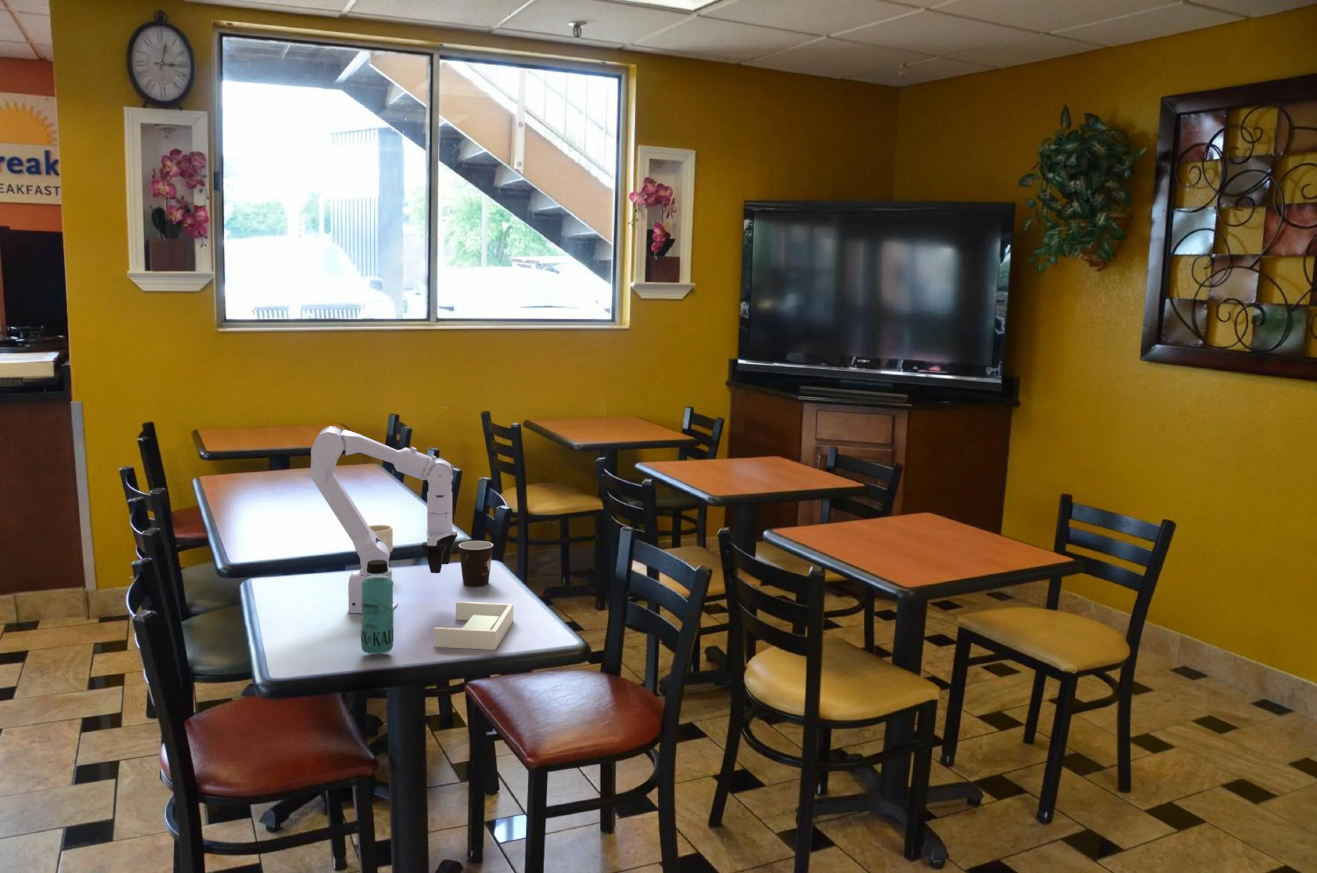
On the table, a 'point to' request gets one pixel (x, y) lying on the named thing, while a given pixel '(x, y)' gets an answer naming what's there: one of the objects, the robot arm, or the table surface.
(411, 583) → the table surface
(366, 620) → the beverage bottle
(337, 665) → the table surface
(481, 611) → the bin
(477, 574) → the coffee mug
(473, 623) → the green tile
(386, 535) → the character mug
